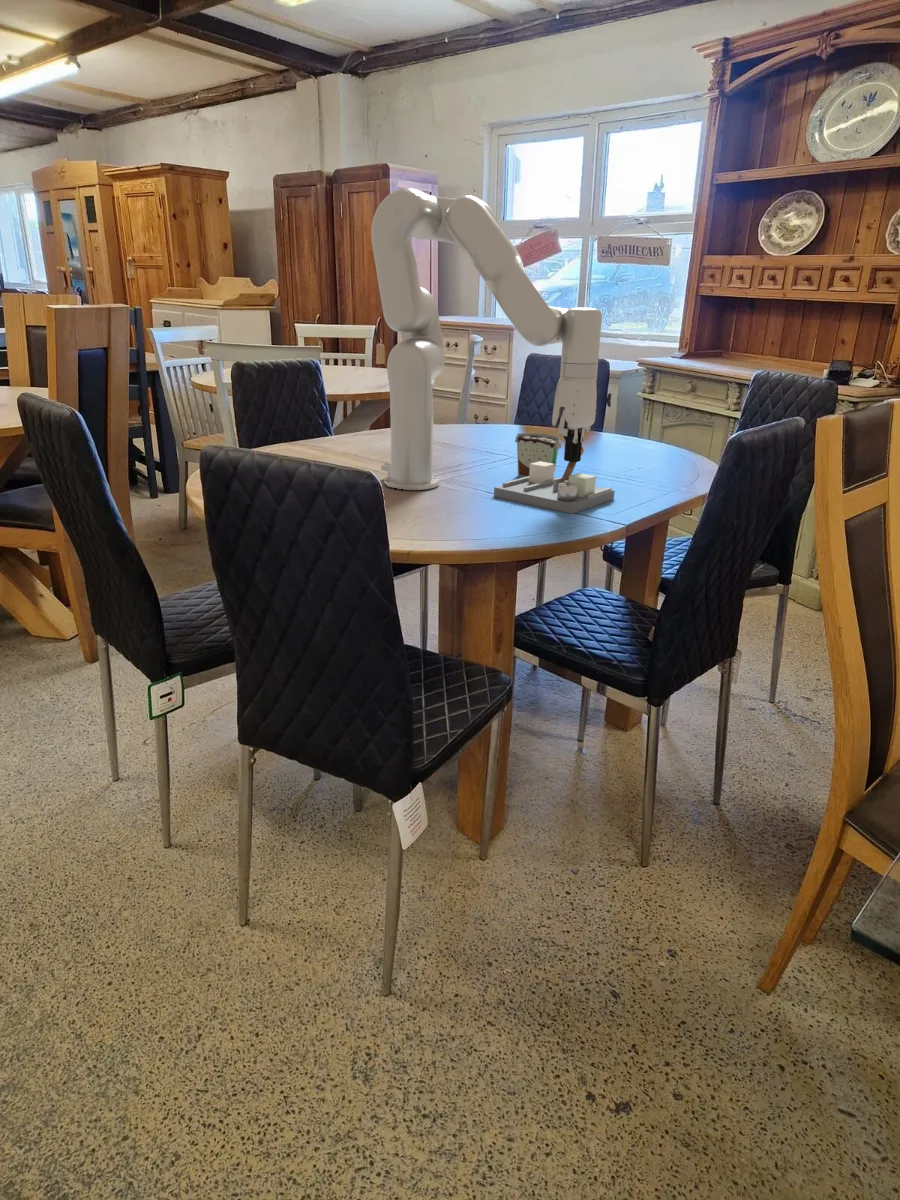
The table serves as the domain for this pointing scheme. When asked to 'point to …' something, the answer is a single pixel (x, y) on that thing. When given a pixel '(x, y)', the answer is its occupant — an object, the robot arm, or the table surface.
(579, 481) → the slider green
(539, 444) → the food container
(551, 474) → the block
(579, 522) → the table surface
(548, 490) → the panel
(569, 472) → the lever
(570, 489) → the button
